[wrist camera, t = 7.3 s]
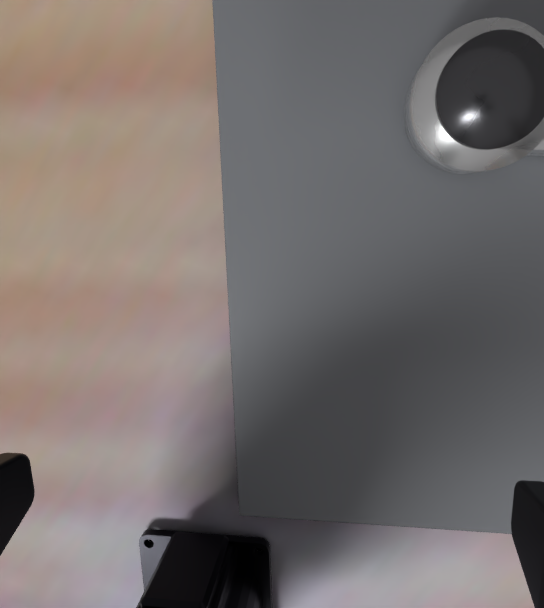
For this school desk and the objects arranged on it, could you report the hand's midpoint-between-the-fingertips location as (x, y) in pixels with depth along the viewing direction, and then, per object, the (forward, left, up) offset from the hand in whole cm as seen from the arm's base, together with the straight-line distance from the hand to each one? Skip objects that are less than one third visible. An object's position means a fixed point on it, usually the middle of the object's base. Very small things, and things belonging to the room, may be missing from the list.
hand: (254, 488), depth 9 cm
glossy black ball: (+8, -6, -9) cm, 13 cm away
